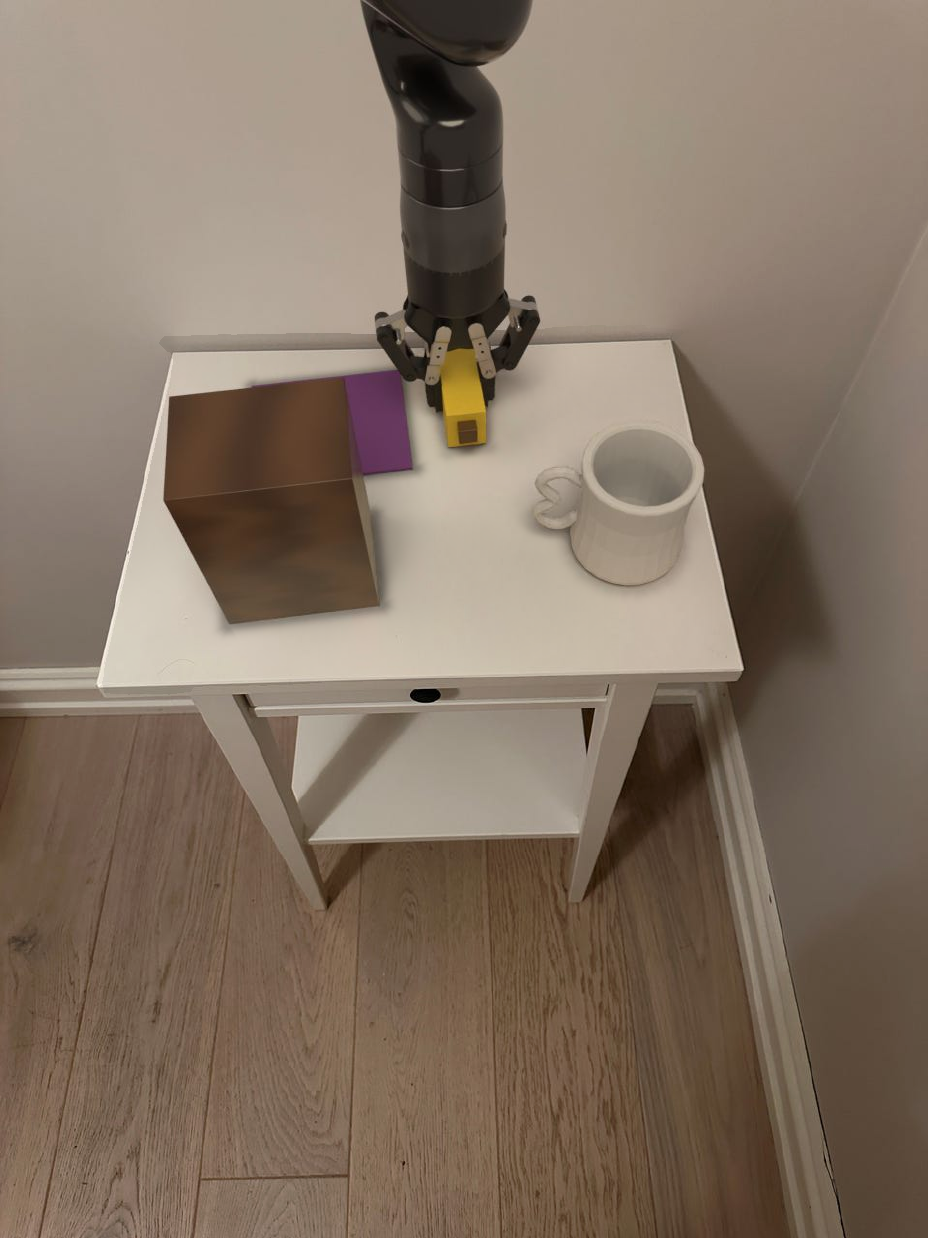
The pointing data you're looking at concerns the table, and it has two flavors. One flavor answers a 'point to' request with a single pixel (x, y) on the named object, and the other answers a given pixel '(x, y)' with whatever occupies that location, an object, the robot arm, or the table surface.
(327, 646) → the table surface
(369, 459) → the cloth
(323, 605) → the block
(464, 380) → the yellow brick
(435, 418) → the table surface
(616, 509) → the mug
